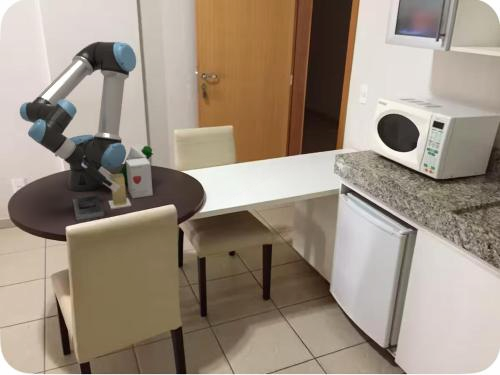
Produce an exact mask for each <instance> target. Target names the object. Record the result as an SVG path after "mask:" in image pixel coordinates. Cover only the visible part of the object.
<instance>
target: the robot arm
mask: <svg viewBox="0 0 500 375" xmlns="http://www.w3.org/2000/svg"><path fill="white" fill-rule="evenodd" d="M136 65H137V56H136V53H135V51H134V49H133V48H132V46H131V45H130V44H128V43H125V42H121V41H120V42H119V41H114V42H113V41H110V42H109V41H95V42H93V43H90V44H88V45H87V46H85V47H84V48H82V49H81V50H79V52H77V53H76V54H75V55H74V56H73V57H72V62H71V63H70V64H69V65H68V66H67V67H66V68H65V69H64V70H62V72H61V73H60V74H59V75H58V76H57V77H56V78H55V79H54V80H53V81H52V82H51V83H50V84H49V85H48V86H47V87H46V88H45V89H44V90H43V91H42V92H41V93H40V94H39V95H38V96H37V97H36V98H35V99H34V100H33V101H32V102H31V101H28V102H24V103H22V104H21V106H20V108H19V116H20V118H21V119H22V120H24V121H25V122H29V123H33V125H31V127H30V128H29V130H28V131H27V135H28V137H30V138H31V139H32V140H33V141H34V142H36V143H37V144H39V145H41V146H42V147H44V148H45V149H47V150H49V151H50V152H51V153H53V154H54V156H55V158H56V157H59V158H60V159H62V160H64V161H65V162H66V163H67V164H69V169H70V170H69V176H68V182H67V183H68V184H67V185H68V189H69V190H71V191H75V192H88V191H93V190H96V189H98V188H101V187H103V186H106V187H108V188H109V189H110V190H111V189H112V190H113V191H115V192H116V191H117V190H118V188H119V187H120V186H119V185H117V184H116V183H114V182H113V181H112V180H110V175H111V174H112V173H111V172H110V171H108V170H115V169H118V168H120V167H121V165H122V166H123V164H124V163H125V161H126V158H127V157H126V156H127V149H126V147H125V145H124V144H123V143H122V141H123V140H122V138H121V136H120V135H119V134H120V127H121V126H120V124H121V116H122V108H123V107H122V106H123V97H124V89H125V88H124V87H125V81H126V79H128V78H129V76H130V72H133V71H134V69H136ZM96 71H100V73H101V75H102V76H103V82H102V91H101V101H100V111H99V118H98V120H99V121H98V127H97V132H96V133H95V134H94V135H92V134H83V135H78V136H73V137H69V138H68V137H66V136H65V135H64V134H63V133H64V132H65V130H66V129H67V128H68V126H69V125H70V123H71V122H72V120H74V118H75V115H76V114H77V107H76V106H75V105H74V104H73V103H72V102H71V101H69V100H67V99H66V98H67V97H68V96H69V95H70V94H71V93H72V92H73V91H74V89H75V88H76V87H77V86H78V85H79V84H80V83H81V82H82V81H83V80H84V79H85V78H86V77H87V76H91V75H92V74H93V73H94V72H96Z"/></svg>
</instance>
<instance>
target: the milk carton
mask: <svg viewBox="0 0 500 375" xmlns="http://www.w3.org/2000/svg"><path fill="white" fill-rule="evenodd" d="M154 154H155V153H154V151H153V148H152V147H150V146H147V145H145V144H143V142H139V143H137V144H135V145H132V146H131V147H130V149H129V153H128V155H126V156H127V157H126V158H125V160H124V162H123V164H122V167H121V170H120V172H119V173H122V174H123V176H124V181H125V184H127V185H128V179H127V168H126V160H131V159H140V158H146V159H147V160H148V161H149V162H150V160H151V158H152V157H153V155H154Z"/></svg>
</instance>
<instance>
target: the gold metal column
mask: <svg viewBox="0 0 500 375" xmlns="http://www.w3.org/2000/svg"><path fill="white" fill-rule="evenodd" d="M110 180H112V181H113V182H114V183H116V184H117V185H119V186H120V187H119V188H118V190H117V191H116V192H115V191H113V190H112V189H110V190H111V197H112V198H111V201H112V200H113V204H114V206H119V205H126V204H127V200H126V198H127V193H126V182H125V181H124V176H123V174H122V173H120V172H119V173H114V174H113V173H111V175H110Z"/></svg>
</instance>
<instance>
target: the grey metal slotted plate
mask: <svg viewBox="0 0 500 375" xmlns="http://www.w3.org/2000/svg"><path fill="white" fill-rule="evenodd" d="M72 204H73V210H74V214H75V220H76V221H82V220H89V219H95V218H102V217H104V215H105V214H104V210H103V207H102V203H101V200H100V197H99V195H98V194H97V195H92V196H84V197H76V198H72Z"/></svg>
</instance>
